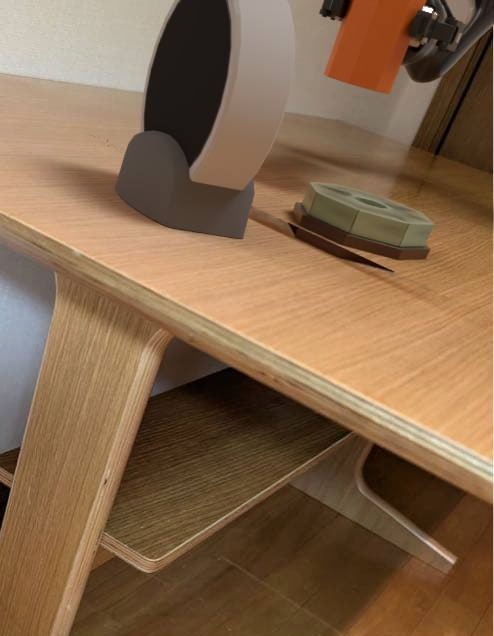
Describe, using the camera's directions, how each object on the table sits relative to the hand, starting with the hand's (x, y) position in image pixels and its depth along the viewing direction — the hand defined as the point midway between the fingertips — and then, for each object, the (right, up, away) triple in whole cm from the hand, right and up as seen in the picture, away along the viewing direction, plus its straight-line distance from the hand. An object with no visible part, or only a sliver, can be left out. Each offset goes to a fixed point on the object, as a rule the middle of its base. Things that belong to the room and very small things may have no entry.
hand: (377, 12), depth 76 cm
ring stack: (-2, -22, 0) cm, 22 cm away
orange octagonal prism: (0, -4, +5) cm, 6 cm away
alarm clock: (-19, -20, -5) cm, 29 cm away
